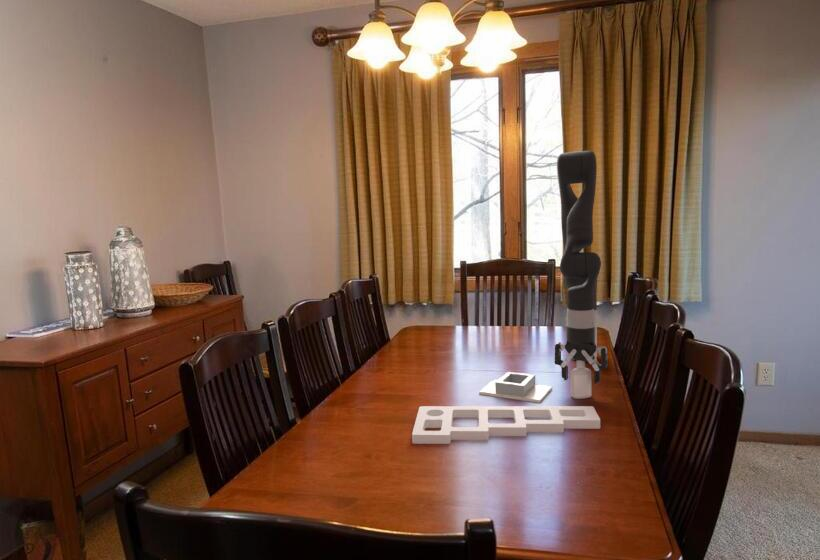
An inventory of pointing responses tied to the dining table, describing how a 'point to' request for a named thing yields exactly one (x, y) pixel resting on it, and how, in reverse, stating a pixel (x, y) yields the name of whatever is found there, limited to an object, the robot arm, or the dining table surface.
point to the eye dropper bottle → (580, 381)
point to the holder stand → (517, 388)
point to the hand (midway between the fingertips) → (580, 381)
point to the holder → (444, 419)
